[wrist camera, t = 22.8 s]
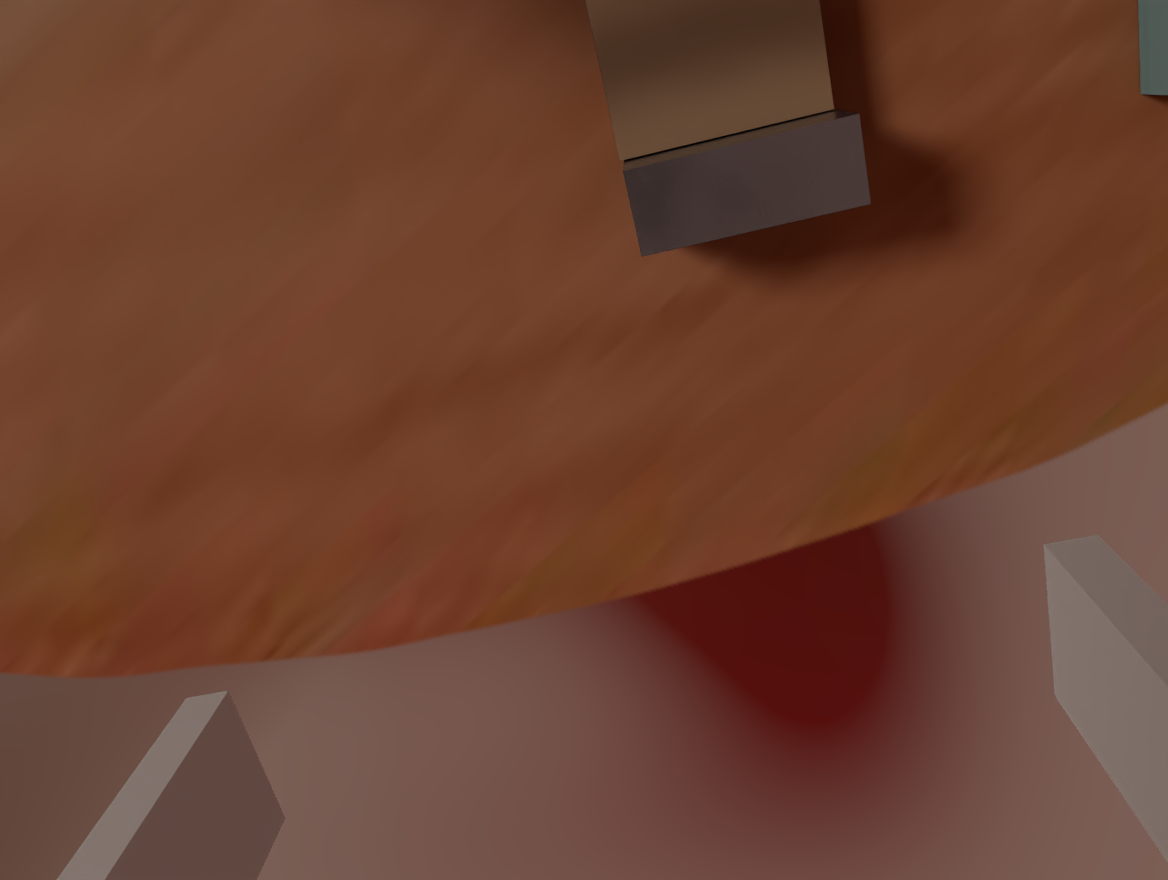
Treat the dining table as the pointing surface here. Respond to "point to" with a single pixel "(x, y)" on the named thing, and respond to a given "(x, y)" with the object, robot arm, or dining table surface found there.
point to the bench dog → (747, 181)
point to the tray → (1153, 46)
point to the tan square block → (707, 67)
